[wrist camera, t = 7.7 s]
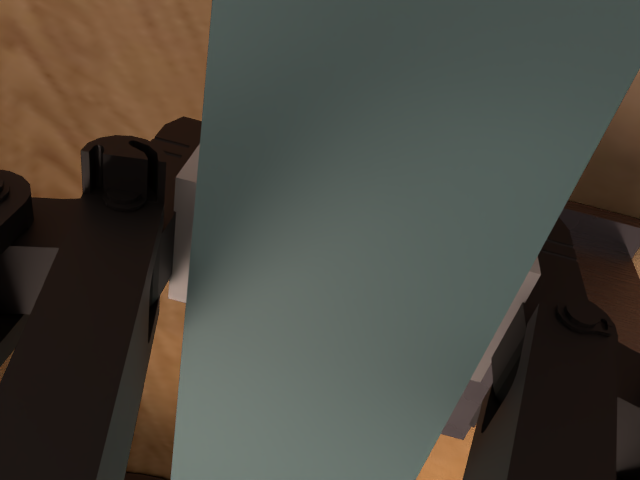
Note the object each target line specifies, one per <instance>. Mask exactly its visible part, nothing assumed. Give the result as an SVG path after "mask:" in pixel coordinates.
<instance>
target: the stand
mask: <svg viewBox="0 0 640 480" xmlns="http://www.w3.org/2000/svg"><path fill="white" fill-rule="evenodd" d="M559 218H560V219H561V220H562V221H563V223H564V224H565V225H566V226H567V228H568V229H569V231H570V235H571V238H572V242H573V248H574V249H575V253H576V257H577V260H576V261H577V262H578V264H579V268H580V272H581V275H582V279H583V283H584V286H585V290H586V294H587V297H588V300H589V301H590V302H592V303H594V304H596V305H597V306H598V307H599V308H600V309H602V310H603V311H604V312H605V313H607V315H608V316H609V317H610V319H611V320H612V321H613V323H614V324H615V326H616V330H617V334H618V342H620V343H622V344H623V345H625V346H627V347H628V348H630V349H632V350H634V351H636V352H638V353H640V279H639V276H638V274H637V271H636V269H635V267H634V264H633V262H632V257H633V256H634V254H635V253H636V251H637V250H638V248H639V247H640V219H637V218H633V217H629V216H625V215H621V214H618V213H614V212H610V211H606V210H602V209H599V208H595V207H591V206H587V205H583V204H579V203H576V202H572V201H567V203H566V205H565V206H564V208H563V210H562V212H561V214H560V216H559ZM492 383H493V375H492V363H491V364H490V366H489V368H488V370H487V371H486V373H485V375H484V377H483V378H482V380H481V382H477V381H473V380H470V381H469V383H468V384H467V386H466V388H465V390H464V392H463V394H462V395H461V397H460V399H459V401H458V403H457V405H456V406H455V408H454V410H453V412H452V414H451V416H450V417H449V419H448V421H447V423H446V425H445V427H444V428H443V430H442V432H441V434H443V435H447V436H451V437H454V438H458V439H462V440H464V438H465V436H466V434H467V433H468V431H469V429H470V428H471V426H469V425H468V424H469V423H470V421H471V419H472V418H473V416H474V414H475V412H476V411H477V409H478V407H479V406H480V404H481V402H482V400H483V399H484V397H485V395H486V394H487V392H488V390H489V388H490V387H491V385H492Z"/></svg>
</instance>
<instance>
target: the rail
mask: <svg viewBox="0 0 640 480" xmlns="http://www.w3.org/2000/svg"><path fill="white" fill-rule="evenodd" d="M639 69H640V0H212V11H211V22H210V34H209V45H208V57H207V68H206V80H205V91H204V103H203V114H202V125H201V137H200V148H199V160H198V171H197V183H196V194H195V206H194V217H193V229H192V240H191V252H190V263H189V275H188V286H187V297H186V309H185V320H184V332H183V343H182V355H181V366H180V378H179V389H178V401H177V412H176V424H175V435H174V447H173V458H172V469H171V480H416V478H417V476H418V474H419V473H420V471H421V469H422V467H423V465H424V463H425V461H426V460H427V458H428V456H429V454H430V452H431V450H432V449H433V447H434V445H435V443H436V441H437V439H438V438H439V436H440V434H441V432H442V430H443V428H444V427H445V425H446V423H447V421H448V419H449V417H450V416H451V414H452V412H453V410H454V408H455V406H456V405H457V403H458V401H459V399H460V397H461V395H462V394H463V392H464V390H465V388H466V386H467V384H468V383H469V381H470V379H471V377H472V375H473V373H474V372H475V370H476V368H477V366H478V364H479V362H480V361H481V359H482V357H483V355H484V353H485V351H486V350H487V348H488V346H489V344H490V342H491V340H492V339H493V337H494V335H495V333H496V331H497V329H498V328H499V326H500V324H501V322H502V320H503V318H504V317H505V315H506V313H507V311H508V309H509V307H510V306H511V304H512V302H513V300H514V298H515V296H516V295H517V293H518V291H519V289H520V287H521V285H522V284H523V282H524V280H525V278H526V276H527V274H528V272H529V271H530V269H531V267H532V265H533V263H534V261H535V260H536V258H537V256H538V254H539V252H540V250H541V249H542V247H543V245H544V243H545V241H546V239H547V238H548V236H549V234H550V232H551V230H552V228H553V227H554V225H555V223H556V221H557V219H558V217H559V216H560V214H561V212H562V210H563V208H564V206H565V205H566V203H567V201H568V199H569V197H570V195H571V194H572V192H573V190H574V188H575V186H576V184H577V183H578V181H579V179H580V177H581V175H582V173H583V172H584V170H585V168H586V166H587V164H588V162H589V161H590V159H591V157H592V155H593V153H594V151H595V150H596V148H597V146H598V144H599V142H600V140H601V139H602V137H603V135H604V133H605V131H606V129H607V128H608V126H609V124H610V122H611V120H612V118H613V117H614V115H615V113H616V111H617V109H618V107H619V106H620V104H621V102H622V100H623V98H624V96H625V95H626V93H627V91H628V89H629V87H630V85H631V84H632V82H633V80H634V78H635V76H636V74H637V72H638V71H639Z"/></svg>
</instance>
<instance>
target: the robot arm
mask: <svg viewBox="0 0 640 480" xmlns="http://www.w3.org/2000/svg"><path fill="white" fill-rule="evenodd" d="M201 125H202V121H198V120H195V119H191V118H187V117H181V118H179V119H177V120H175V121H172V122H170V123H168V124H165V125H164V127H163V128H162V129H161V130H160V131H159V132H158V134H157V135H156V136H155V139H152V141H151V142H150V141H148V140H146V139H142V138H138V137H134V136H120V135H114V136H108V137H102V138H98V139H96V140H94V141H91V142H89V143H87V145H86V146H85V147H84V148H83V149H82V150H81V166H82V186H83V194H82V197H81V198H79V199H50V198H32V197H31V189H30V184H29V183H28V182H27V181H26V180H25V179H24V178H23V177H22V176H20V175H17V174H15V173H13V172H11V171H5V170H0V367H1V365H2V364H3V363H4V362H5V360H6V359H7V358H8V357H9V355H10V354H11V353H12V352H13V350H14V349H15V350H14V353H13V355H12V357H11V359H10V362H9V364H8V366H7V369H6V371H5V373H4V376H3V378H2V380H1V382H0V480H164V479H161V478H157V477H152V476H147V475H141V474H134V473H126V468H127V463H128V458H129V454H130V449H131V444H132V439H133V435H134V430H135V425H136V420H137V415H138V411H139V406H140V401H141V396H142V392H143V387H144V382H145V377H146V372H147V368H148V363H149V358H150V353H151V349H152V344H153V339H154V334H155V329H156V325H157V320H158V315H159V302H160V294H161V292H162V291H163V289H164V287H165V285H166V284H167V282H168V280H169V294H168V298H169V299H173V300H176V301H180V302H184V303H186V297H187V286H188V275H189V263H190V252H191V240H192V229H193V217H194V206H195V194H196V183H197V171H198V160H199V148H200V137H201ZM576 260H577V257H576V253H575V249H574V248H573V242H572V238H571V235H570V231H569V229H568V228H567V226H566V225H565V224H564V223H563V221H562V220H561V219H560V218H559V217H558V219H557V221H556V223H555V225H554V227H553V228H552V230H551V232H550V234H549V236H548V238H547V239H546V241H545V243H544V245H543V247H542V249H541V250H540V252H539V254H538V256H537V258H536V260H535V261H534V263H533V265H532V267H531V269H530V271H529V272H528V274H527V276H526V278H525V280H524V282H523V284H522V285H521V287H520V289H519V291H518V293H517V295H516V296H515V298H514V300H513V302H512V304H511V306H510V307H509V309H508V311H507V313H506V315H505V317H504V318H503V320H502V322H501V324H500V326H499V328H498V329H497V331H496V333H495V335H494V337H493V339H492V340H491V342H490V344H489V346H488V348H487V350H486V351H485V353H484V355H483V357H482V359H481V361H480V362H479V364H478V366H477V368H476V370H475V372H474V373H473V375H472V377H471V379H470V380H473V381H477V382H481V380H482V378H483V377H484V375H485V373H486V371H487V370H488V368H489V366H490V364H491V363H492V375H493V383H492V385H491V387H490V388H489V390H488V392H487V394H486V395H485V397H484V399H483V400H482V402H481V404H480V406H479V407H478V409H477V411H476V412H475V414H474V416H473V418H472V419H471V421H470V423H469V424H468V425H469V426H471V427H475V425H476V424H477V425H476V429H475V433H474V437H473V441H472V445H471V449H470V453H469V457H468V461H467V465H466V469H465V473H464V476H463V480H640V353H638V352H636V351H634V350H632V349H630V348H628V347H627V346H625V345H623V344H622V343H620V342H618V334H617V330H616V326H615V324H614V323H613V321H612V320H611V319H610V317H609V316H608V315H607V313H605V312H604V311H603V310H602V309H600V308H599V307H598V306H597V305H596V304H594V303H592V302H590V301H589V300H588V297H587V294H586V290H585V286H584V283H583V279H582V275H581V272H580V268H579V264H578V262H577V261H576Z"/></svg>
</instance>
